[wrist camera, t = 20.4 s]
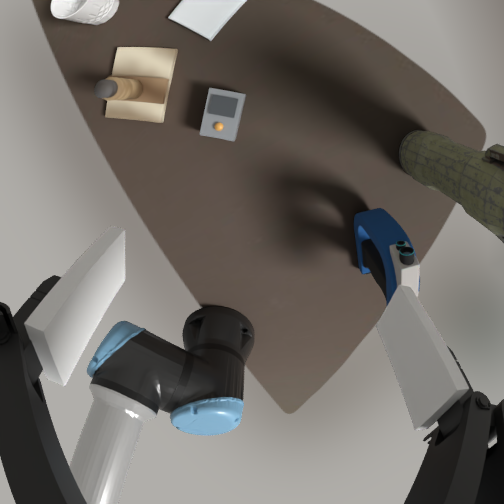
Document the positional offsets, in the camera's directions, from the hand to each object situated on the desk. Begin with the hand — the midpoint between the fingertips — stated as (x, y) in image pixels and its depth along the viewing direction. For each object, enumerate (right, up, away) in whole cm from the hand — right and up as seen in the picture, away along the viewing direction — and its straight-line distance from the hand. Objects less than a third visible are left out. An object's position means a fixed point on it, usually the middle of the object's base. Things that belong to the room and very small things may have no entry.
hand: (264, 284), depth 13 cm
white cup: (-25, +42, +17) cm, 52 cm away
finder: (-5, +22, +28) cm, 36 cm away
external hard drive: (-6, +40, +19) cm, 44 cm away
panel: (-18, +28, +25) cm, 41 cm away
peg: (-18, +26, +23) cm, 39 cm away
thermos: (+28, +18, +29) cm, 44 cm away
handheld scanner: (+20, +4, +37) cm, 43 cm away
